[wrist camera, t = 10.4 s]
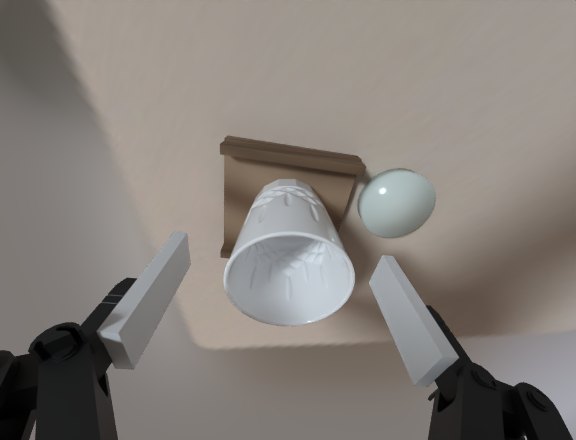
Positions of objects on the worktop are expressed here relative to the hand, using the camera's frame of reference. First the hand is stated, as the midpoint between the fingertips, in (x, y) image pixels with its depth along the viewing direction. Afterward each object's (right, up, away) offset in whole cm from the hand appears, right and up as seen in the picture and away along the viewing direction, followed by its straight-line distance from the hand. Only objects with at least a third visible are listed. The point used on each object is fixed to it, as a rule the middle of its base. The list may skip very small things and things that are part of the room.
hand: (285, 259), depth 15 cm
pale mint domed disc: (+11, +5, +8) cm, 14 cm away
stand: (0, +4, +8) cm, 9 cm away
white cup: (0, +4, +7) cm, 8 cm away
